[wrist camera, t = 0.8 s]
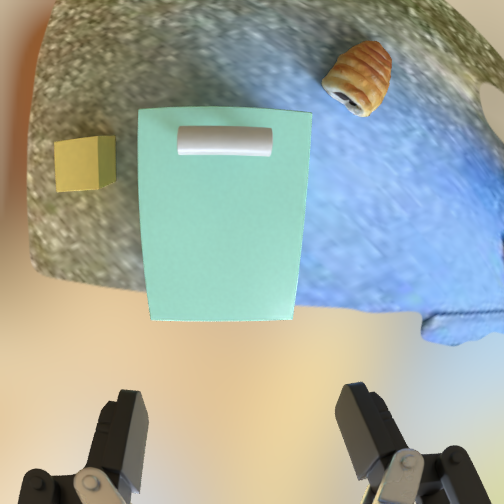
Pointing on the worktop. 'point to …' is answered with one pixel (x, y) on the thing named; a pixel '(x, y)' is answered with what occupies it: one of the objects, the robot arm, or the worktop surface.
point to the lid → (222, 210)
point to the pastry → (360, 78)
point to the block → (85, 163)
